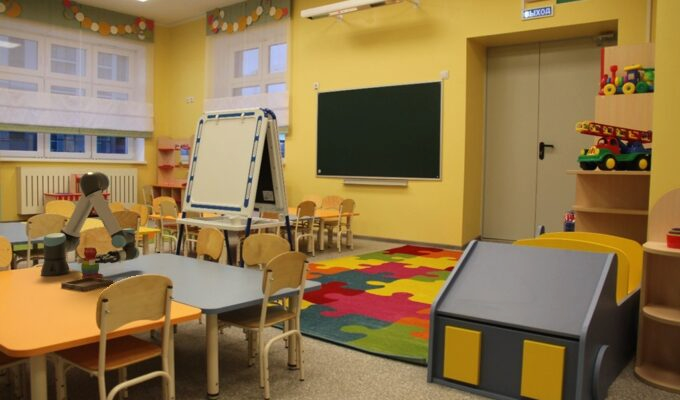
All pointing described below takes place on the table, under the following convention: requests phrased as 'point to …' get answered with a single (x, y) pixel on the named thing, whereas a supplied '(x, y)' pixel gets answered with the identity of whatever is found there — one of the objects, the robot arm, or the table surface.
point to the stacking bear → (90, 269)
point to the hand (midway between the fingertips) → (83, 262)
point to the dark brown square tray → (86, 284)
